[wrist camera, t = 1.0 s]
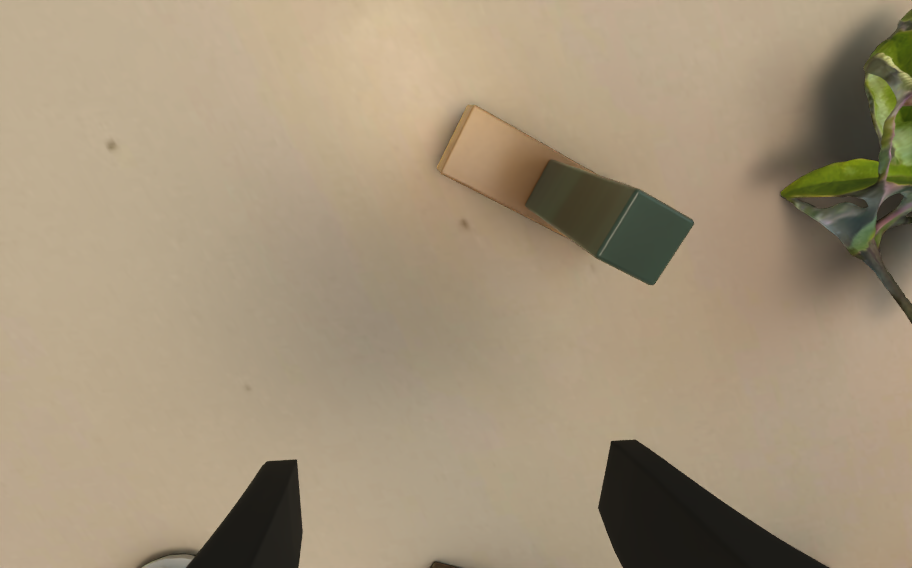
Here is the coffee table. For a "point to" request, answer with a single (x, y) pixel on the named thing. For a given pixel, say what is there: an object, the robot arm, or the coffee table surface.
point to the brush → (564, 195)
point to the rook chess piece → (171, 561)
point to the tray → (441, 565)
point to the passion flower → (872, 163)
